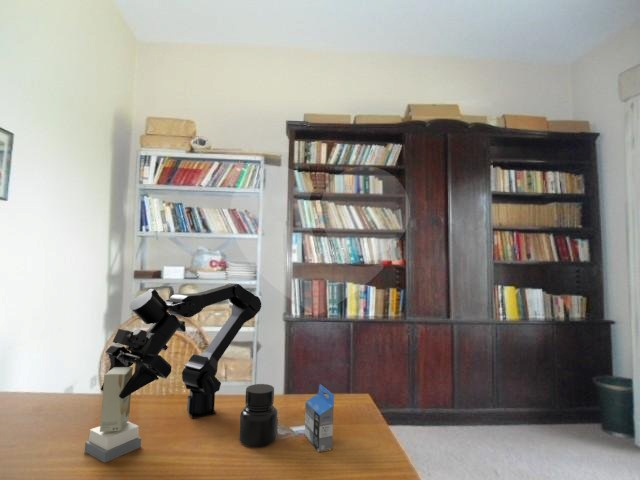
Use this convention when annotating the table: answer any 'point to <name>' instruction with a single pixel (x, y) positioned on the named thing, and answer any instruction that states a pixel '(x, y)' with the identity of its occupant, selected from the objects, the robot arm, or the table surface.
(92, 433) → the tower top
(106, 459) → the tower bottom
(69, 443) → the table surface
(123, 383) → the skincare box
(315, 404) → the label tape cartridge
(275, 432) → the ink bottle
